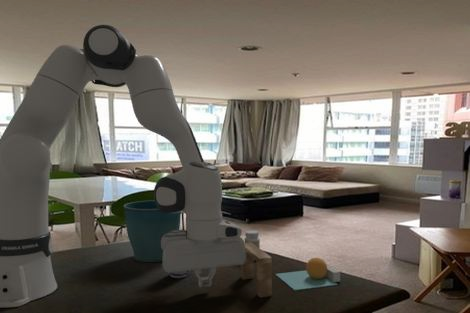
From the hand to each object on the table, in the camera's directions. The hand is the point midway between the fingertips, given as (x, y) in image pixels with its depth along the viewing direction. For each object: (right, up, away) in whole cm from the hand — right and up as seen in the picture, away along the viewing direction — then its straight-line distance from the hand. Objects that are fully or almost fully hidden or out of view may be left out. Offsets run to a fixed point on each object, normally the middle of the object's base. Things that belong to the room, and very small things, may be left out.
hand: (205, 285), depth 95 cm
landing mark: (+26, -1, +8) cm, 27 cm away
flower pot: (-18, -1, +29) cm, 34 cm away
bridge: (+12, -1, +4) cm, 13 cm away
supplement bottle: (+13, -1, +27) cm, 30 cm away
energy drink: (-8, -1, +12) cm, 15 cm away
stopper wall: (+32, -1, +10) cm, 34 cm away
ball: (+29, +2, +9) cm, 30 cm away
